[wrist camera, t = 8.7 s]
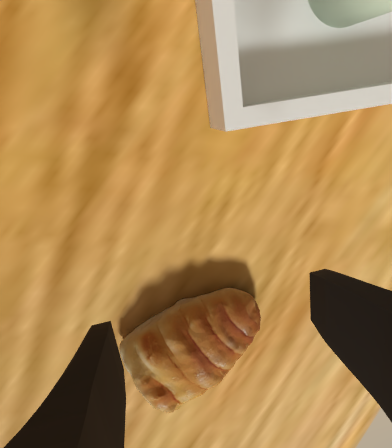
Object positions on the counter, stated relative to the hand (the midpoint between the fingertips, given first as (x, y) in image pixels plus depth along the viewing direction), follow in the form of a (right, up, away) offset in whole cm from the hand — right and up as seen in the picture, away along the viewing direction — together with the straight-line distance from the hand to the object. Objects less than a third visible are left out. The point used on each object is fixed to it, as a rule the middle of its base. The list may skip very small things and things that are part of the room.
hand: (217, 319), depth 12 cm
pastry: (-2, -4, +12) cm, 13 cm away
